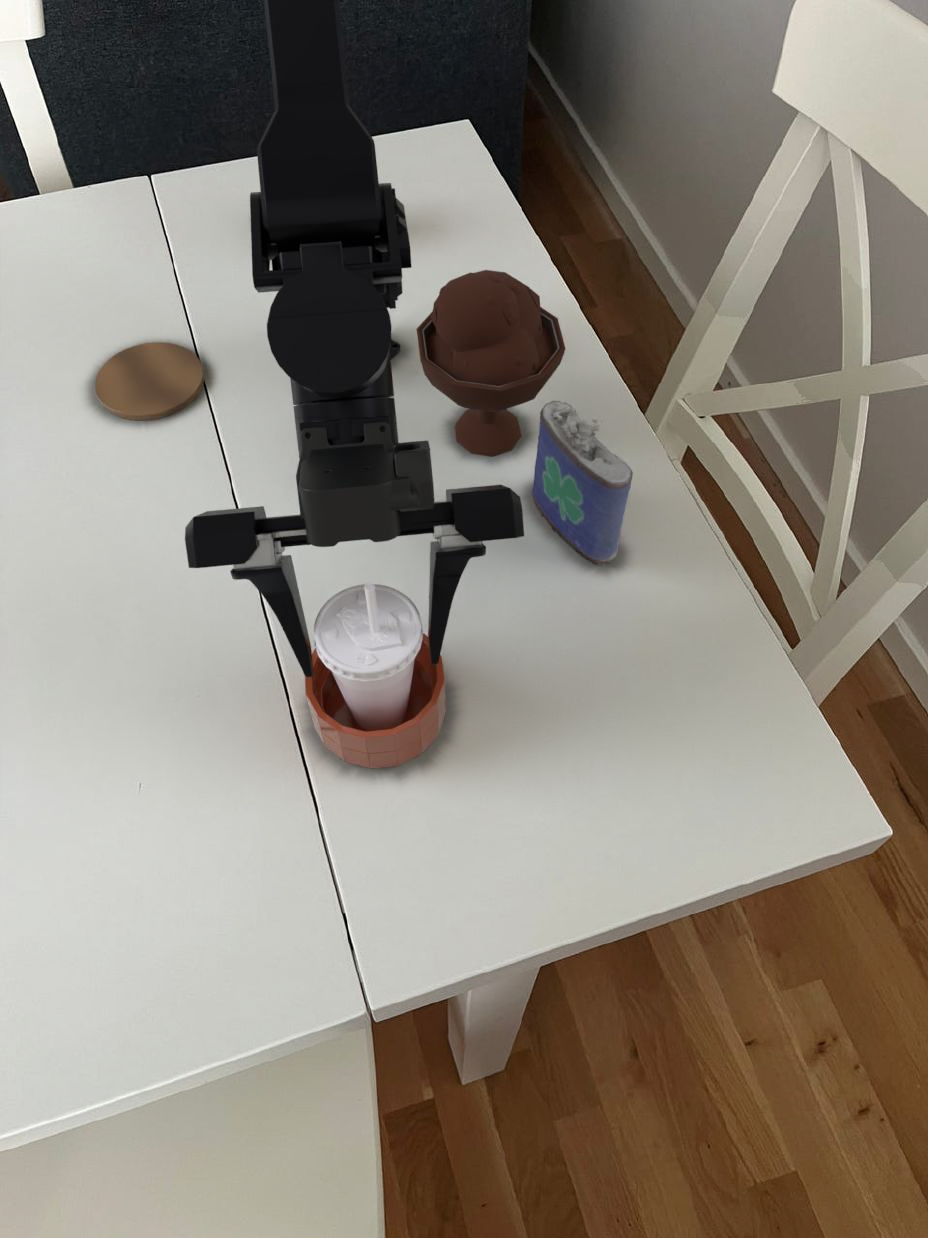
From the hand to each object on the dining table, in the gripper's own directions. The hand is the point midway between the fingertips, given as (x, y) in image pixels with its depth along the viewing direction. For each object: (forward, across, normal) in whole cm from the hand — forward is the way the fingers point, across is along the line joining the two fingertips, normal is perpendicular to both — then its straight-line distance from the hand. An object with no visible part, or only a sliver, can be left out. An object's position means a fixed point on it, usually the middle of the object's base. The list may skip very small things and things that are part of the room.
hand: (372, 669), depth 59 cm
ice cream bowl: (-13, +11, +24) cm, 29 cm away
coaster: (-20, -17, +30) cm, 40 cm away
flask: (-6, +16, +16) cm, 23 cm away
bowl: (+4, 0, +6) cm, 8 cm away
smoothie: (+4, 0, +6) cm, 7 cm away
